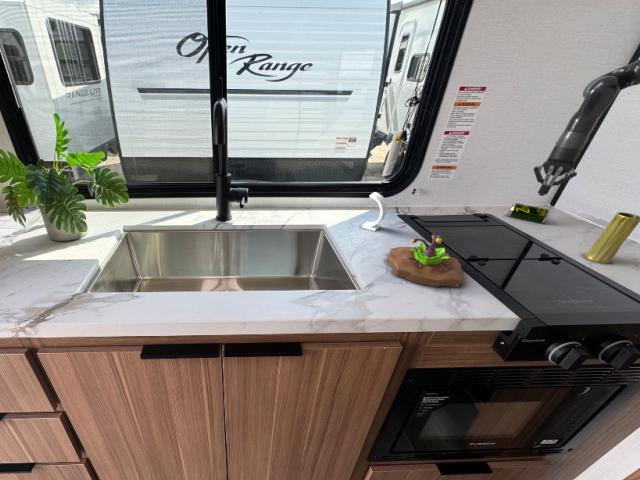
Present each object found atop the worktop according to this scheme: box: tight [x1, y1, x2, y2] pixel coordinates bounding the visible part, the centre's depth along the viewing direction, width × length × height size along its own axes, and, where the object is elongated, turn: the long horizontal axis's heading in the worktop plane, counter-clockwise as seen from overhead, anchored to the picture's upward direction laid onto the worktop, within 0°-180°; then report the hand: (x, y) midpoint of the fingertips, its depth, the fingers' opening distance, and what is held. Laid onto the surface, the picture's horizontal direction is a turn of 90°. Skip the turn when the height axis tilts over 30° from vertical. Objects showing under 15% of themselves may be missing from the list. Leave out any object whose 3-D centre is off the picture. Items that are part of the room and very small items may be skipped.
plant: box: [386, 233, 463, 288], centre depth 91 cm, size 20×20×11 cm
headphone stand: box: [361, 191, 388, 232], centre depth 116 cm, size 5×6×12 cm
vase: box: [584, 211, 640, 264], centre depth 97 cm, size 6×6×14 cm
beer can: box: [506, 202, 552, 224], centre depth 127 cm, size 5×5×12 cm
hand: (541, 195), depth 123 cm, fingers closed
